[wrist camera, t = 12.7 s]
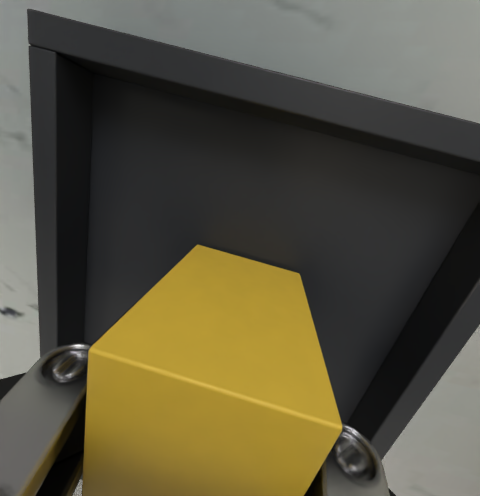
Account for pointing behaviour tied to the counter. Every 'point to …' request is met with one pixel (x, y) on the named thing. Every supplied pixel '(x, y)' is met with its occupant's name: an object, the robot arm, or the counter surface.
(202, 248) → the sponge
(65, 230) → the tray
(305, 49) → the counter surface
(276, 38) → the counter surface
